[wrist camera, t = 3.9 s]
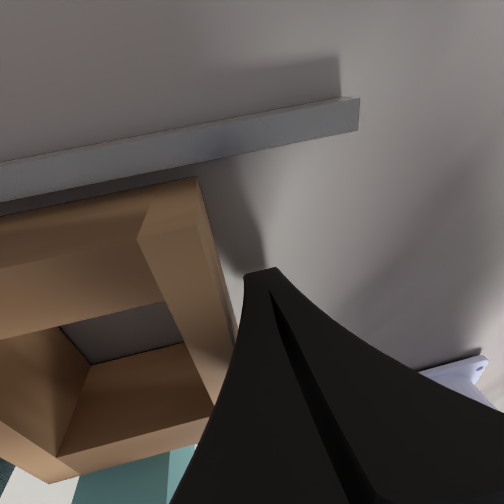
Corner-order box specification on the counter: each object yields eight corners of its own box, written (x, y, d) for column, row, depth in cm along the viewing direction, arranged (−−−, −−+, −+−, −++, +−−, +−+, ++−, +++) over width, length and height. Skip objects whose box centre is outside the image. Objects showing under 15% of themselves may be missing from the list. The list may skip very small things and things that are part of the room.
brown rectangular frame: (244, 351, 13) (257, 426, 10) (83, 392, 12) (49, 484, 10) (196, 176, 8) (196, 225, 5) (-74, 231, 8) (-245, 322, 5)
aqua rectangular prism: (194, 423, 16) (193, 572, 11) (130, 440, 16) (100, 601, 11) (174, 390, 14) (162, 557, 9) (99, 409, 14) (44, 593, 9)
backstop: (332, 343, 14) (367, 409, 11) (23, 423, 13) (-26, 519, 10) (342, 96, 8) (430, 101, 5) (-270, 214, 7) (-639, 313, 4)
